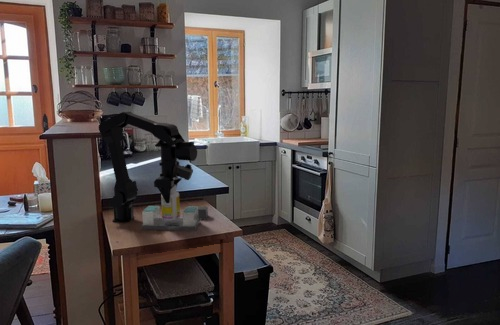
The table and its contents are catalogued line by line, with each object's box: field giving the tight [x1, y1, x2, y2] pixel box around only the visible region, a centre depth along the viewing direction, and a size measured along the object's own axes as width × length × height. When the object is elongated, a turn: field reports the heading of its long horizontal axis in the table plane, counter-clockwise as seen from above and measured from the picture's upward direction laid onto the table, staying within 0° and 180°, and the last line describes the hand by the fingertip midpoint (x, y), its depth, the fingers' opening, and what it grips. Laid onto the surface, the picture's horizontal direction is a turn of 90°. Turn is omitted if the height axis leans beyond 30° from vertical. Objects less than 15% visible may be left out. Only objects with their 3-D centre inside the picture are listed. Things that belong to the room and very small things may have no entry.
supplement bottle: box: [160, 184, 181, 221], centre depth 143 cm, size 7×7×13 cm
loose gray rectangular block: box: [194, 206, 209, 220], centre depth 154 cm, size 5×4×4 cm
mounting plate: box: [140, 205, 201, 232], centre depth 144 cm, size 20×9×7 cm, turn 86°
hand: (170, 200), depth 143 cm, fingers closed on supplement bottle, 7 cm apart
